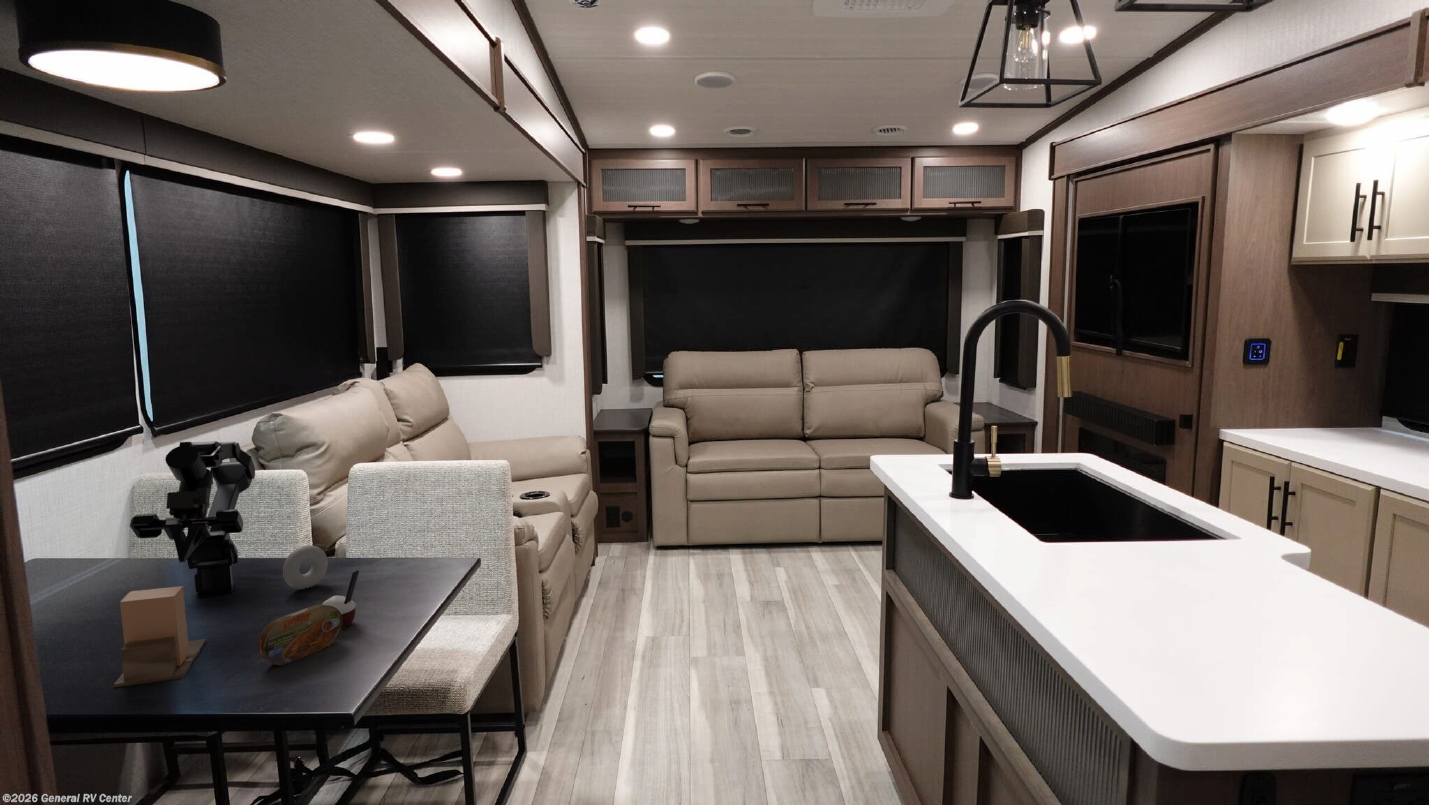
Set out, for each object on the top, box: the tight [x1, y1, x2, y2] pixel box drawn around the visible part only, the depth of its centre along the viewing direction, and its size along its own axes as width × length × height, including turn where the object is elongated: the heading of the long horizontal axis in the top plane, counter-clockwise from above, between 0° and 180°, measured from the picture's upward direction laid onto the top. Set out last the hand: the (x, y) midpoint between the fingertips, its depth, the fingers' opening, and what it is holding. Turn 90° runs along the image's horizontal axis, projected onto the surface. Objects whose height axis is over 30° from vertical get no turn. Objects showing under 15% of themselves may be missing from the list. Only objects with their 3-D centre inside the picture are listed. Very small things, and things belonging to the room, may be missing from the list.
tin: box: [258, 603, 343, 666], centre depth 144 cm, size 15×3×8 cm, turn 148°
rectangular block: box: [119, 585, 189, 666], centre depth 138 cm, size 5×8×13 cm, turn 110°
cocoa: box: [321, 569, 360, 629], centre depth 156 cm, size 10×6×12 cm, turn 54°
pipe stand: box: [113, 637, 207, 688], centre depth 140 cm, size 15×10×7 cm, turn 20°
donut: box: [282, 544, 329, 590], centre depth 176 cm, size 10×4×10 cm, turn 147°
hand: (181, 561), depth 155 cm, fingers closed
